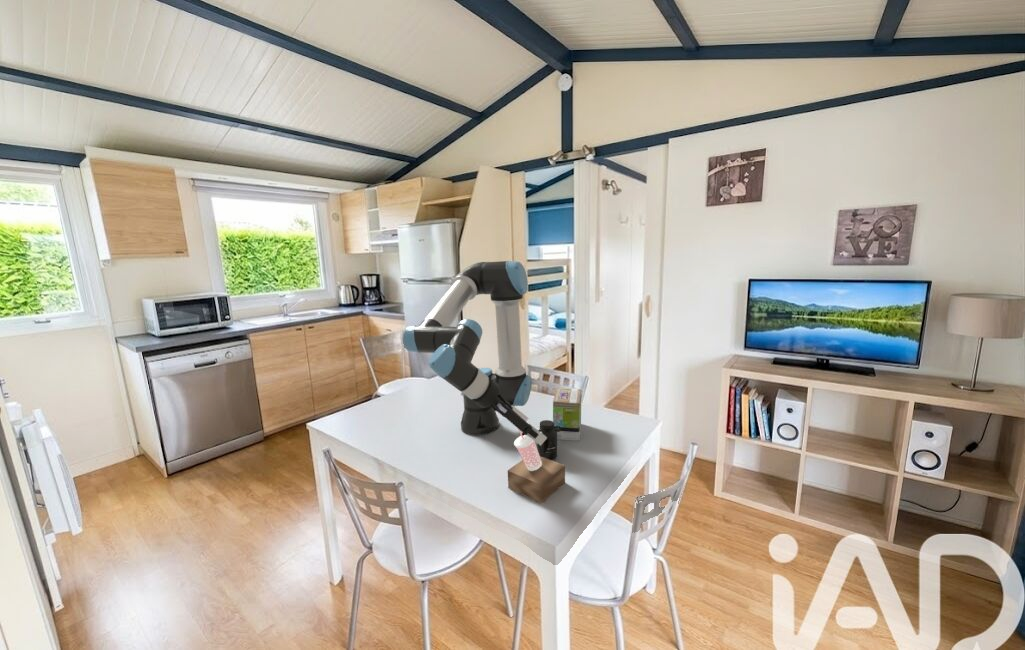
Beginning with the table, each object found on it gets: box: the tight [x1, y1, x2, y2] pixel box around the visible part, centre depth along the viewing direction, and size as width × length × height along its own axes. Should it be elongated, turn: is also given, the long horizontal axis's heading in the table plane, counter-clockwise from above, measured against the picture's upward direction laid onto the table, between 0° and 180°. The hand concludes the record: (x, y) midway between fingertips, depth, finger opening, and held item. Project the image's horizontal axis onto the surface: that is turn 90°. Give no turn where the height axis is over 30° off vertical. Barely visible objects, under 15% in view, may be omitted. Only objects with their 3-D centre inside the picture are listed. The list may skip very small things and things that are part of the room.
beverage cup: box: [513, 428, 542, 471], centre depth 113 cm, size 6×6×14 cm
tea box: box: [552, 387, 582, 442], centre depth 148 cm, size 15×10×15 cm, turn 168°
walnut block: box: [507, 456, 566, 504], centre depth 116 cm, size 12×12×6 cm
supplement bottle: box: [536, 419, 558, 461], centre depth 131 cm, size 7×7×12 cm
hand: (533, 430), depth 113 cm, fingers open, 13 cm apart
